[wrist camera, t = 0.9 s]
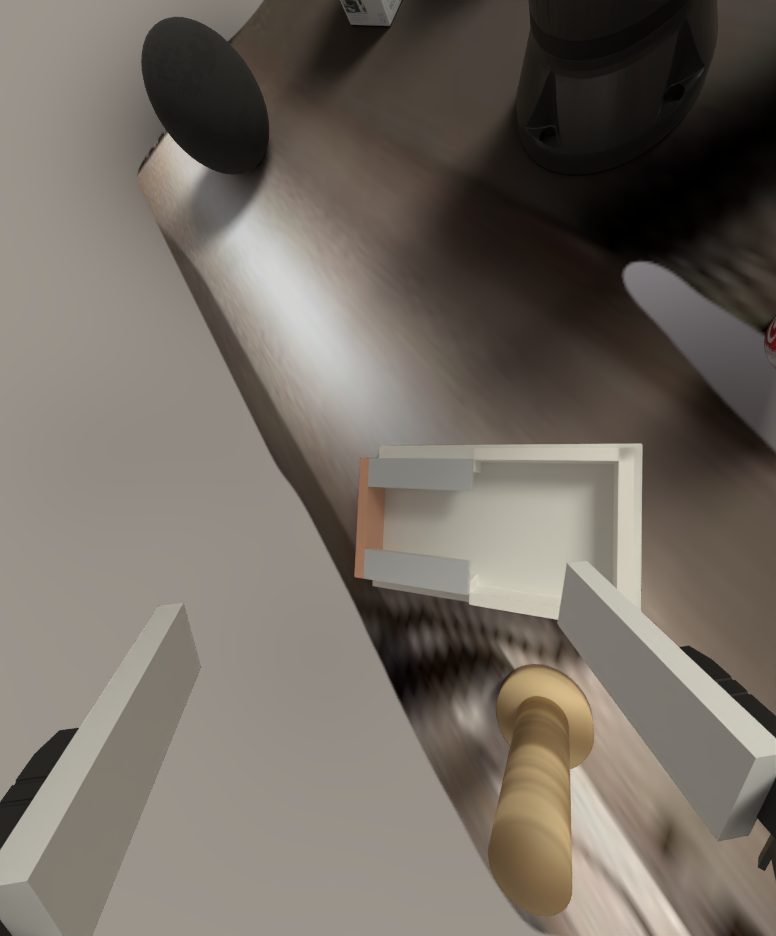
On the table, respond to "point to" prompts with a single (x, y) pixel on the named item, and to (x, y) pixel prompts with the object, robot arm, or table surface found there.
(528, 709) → the headed peg
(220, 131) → the decorative egg
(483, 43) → the table surface
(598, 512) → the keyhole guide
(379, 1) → the light bulb box
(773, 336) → the soda can
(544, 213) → the table surface
